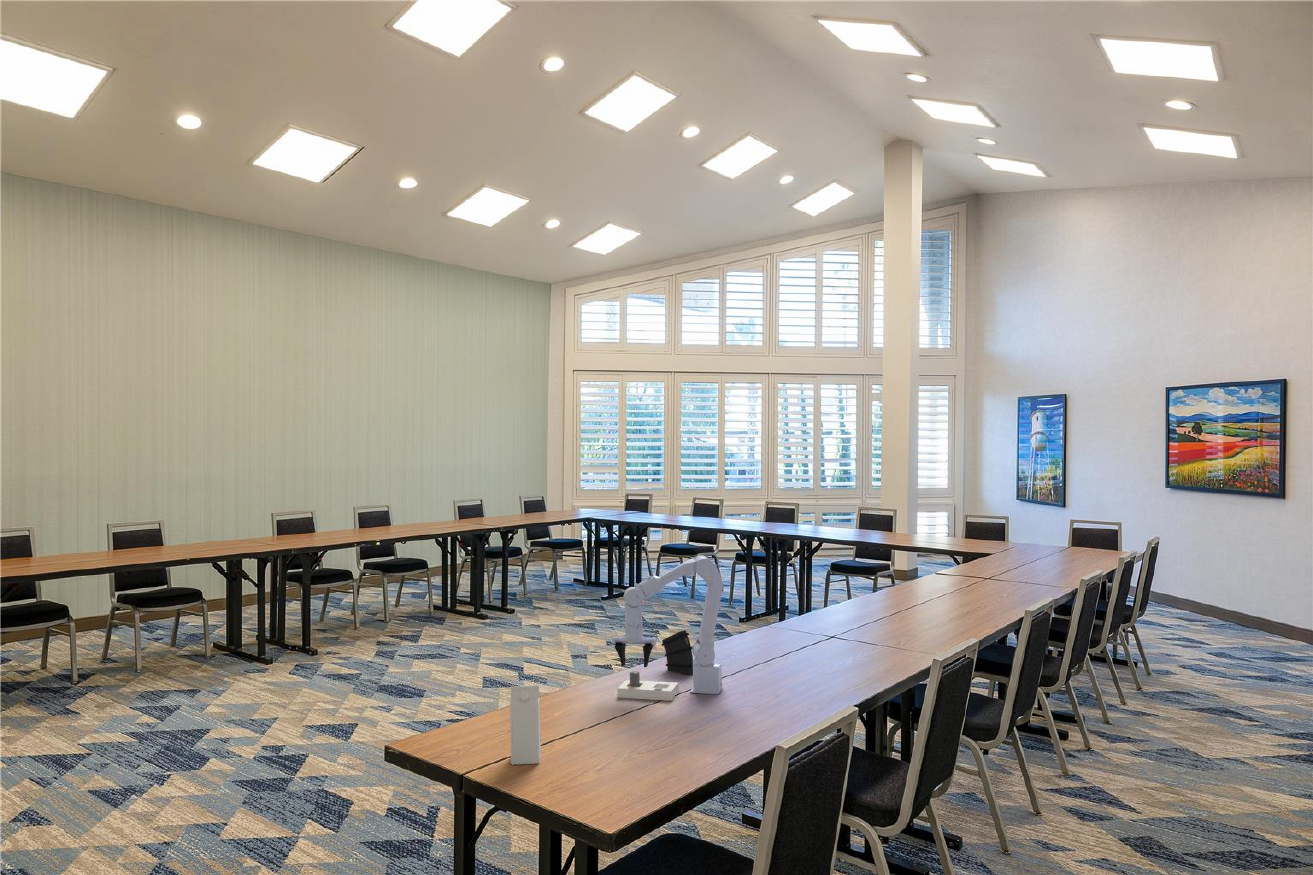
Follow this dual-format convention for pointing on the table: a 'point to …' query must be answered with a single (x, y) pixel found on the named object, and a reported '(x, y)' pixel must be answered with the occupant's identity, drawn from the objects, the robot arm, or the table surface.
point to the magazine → (679, 653)
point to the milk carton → (525, 725)
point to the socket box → (648, 690)
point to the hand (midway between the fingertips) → (634, 665)
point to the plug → (634, 679)
